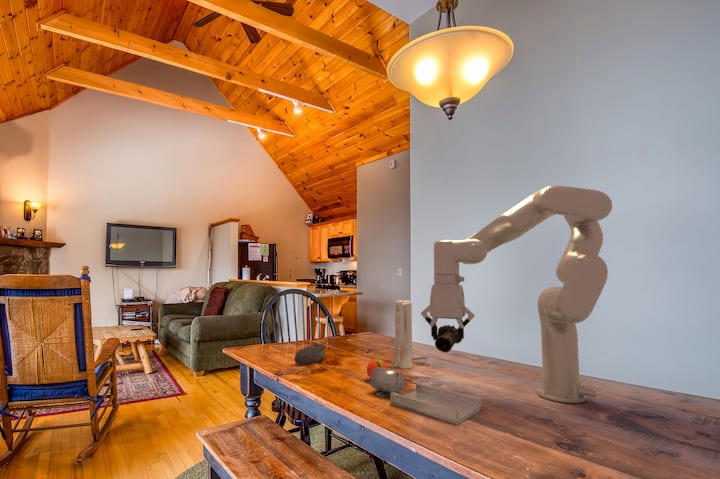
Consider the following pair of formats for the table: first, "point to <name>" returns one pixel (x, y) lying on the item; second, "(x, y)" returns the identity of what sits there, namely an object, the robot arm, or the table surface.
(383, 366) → the clementine
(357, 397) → the table surface
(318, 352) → the perforated stone tool
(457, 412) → the cradle
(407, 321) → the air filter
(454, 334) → the brown knobbed club
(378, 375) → the duct stub
